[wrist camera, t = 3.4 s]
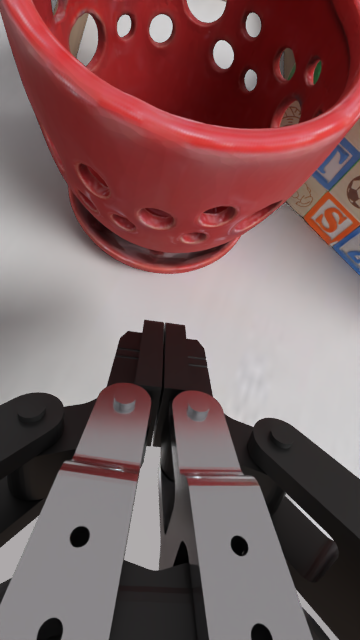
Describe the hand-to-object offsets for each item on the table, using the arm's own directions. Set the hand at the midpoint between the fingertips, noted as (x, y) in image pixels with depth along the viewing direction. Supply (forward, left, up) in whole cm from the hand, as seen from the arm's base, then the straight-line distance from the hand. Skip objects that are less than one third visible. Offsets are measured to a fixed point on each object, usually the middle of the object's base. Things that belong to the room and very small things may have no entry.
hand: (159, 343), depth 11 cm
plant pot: (0, +11, -7) cm, 13 cm away
